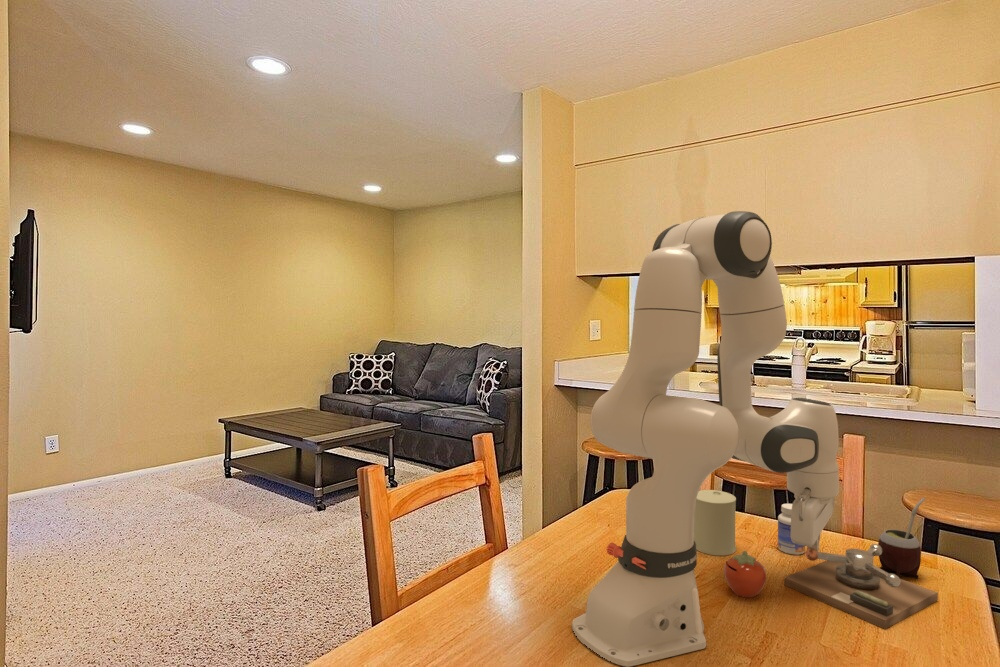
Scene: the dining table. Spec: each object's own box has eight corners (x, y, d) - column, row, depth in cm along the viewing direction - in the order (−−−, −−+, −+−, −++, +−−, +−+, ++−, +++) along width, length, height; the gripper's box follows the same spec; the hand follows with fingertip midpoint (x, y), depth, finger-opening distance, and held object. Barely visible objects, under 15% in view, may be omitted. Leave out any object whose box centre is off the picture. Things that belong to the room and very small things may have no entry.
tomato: (716, 584, 112) (716, 543, 112) (753, 582, 113) (753, 542, 113) (735, 604, 105) (735, 560, 104) (774, 601, 106) (775, 558, 105)
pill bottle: (802, 557, 124) (803, 512, 123) (775, 551, 127) (775, 507, 126) (807, 548, 128) (807, 505, 128) (780, 543, 131) (781, 500, 131)
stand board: (884, 629, 96) (885, 608, 96) (783, 585, 112) (784, 567, 111) (937, 600, 105) (938, 581, 105) (837, 563, 121) (838, 546, 121)
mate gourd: (876, 575, 115) (877, 501, 114) (879, 561, 121) (880, 490, 121) (922, 586, 111) (924, 508, 110) (923, 571, 117) (925, 497, 116)
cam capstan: (901, 608, 99) (902, 576, 99) (809, 593, 104) (810, 563, 104) (881, 569, 114) (881, 541, 113) (801, 558, 119) (801, 531, 119)
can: (739, 544, 131) (739, 491, 130) (731, 559, 123) (731, 503, 123) (697, 535, 136) (697, 485, 135) (687, 550, 128) (687, 496, 128)
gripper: (819, 500, 102) (820, 577, 102) (840, 471, 118) (840, 538, 118) (780, 493, 106) (781, 568, 106) (805, 466, 122) (806, 531, 122)
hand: (813, 552), depth 112 cm, fingers closed, pressing on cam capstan
